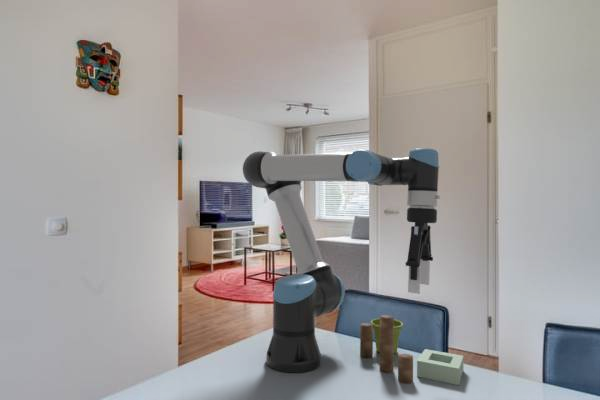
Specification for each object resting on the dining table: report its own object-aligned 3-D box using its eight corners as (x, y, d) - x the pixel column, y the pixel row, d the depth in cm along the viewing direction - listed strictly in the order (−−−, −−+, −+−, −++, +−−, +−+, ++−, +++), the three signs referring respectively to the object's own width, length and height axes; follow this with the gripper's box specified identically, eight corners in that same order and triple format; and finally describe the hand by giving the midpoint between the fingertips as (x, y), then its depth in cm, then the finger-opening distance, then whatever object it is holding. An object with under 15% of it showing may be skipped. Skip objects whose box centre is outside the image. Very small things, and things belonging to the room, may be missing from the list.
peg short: (396, 381, 96) (396, 357, 96) (400, 376, 99) (400, 352, 99) (411, 384, 94) (411, 360, 94) (414, 379, 97) (414, 355, 98)
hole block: (417, 376, 99) (417, 360, 99) (424, 363, 108) (424, 349, 108) (458, 385, 94) (458, 368, 94) (463, 370, 103) (463, 355, 103)
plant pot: (403, 358, 112) (403, 328, 112) (370, 355, 114) (370, 325, 114) (401, 347, 121) (401, 319, 121) (371, 344, 123) (371, 317, 123)
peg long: (377, 370, 102) (378, 317, 103) (381, 366, 105) (382, 314, 106) (391, 373, 101) (391, 319, 101) (394, 369, 104) (395, 316, 104)
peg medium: (358, 356, 112) (358, 325, 113) (362, 353, 115) (362, 322, 116) (370, 359, 111) (370, 327, 111) (374, 355, 114) (374, 324, 114)
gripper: (428, 207, 89) (425, 299, 89) (443, 208, 111) (440, 282, 111) (396, 206, 93) (392, 294, 92) (416, 207, 115) (414, 279, 114)
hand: (419, 288), depth 102 cm, fingers open, 13 cm apart
